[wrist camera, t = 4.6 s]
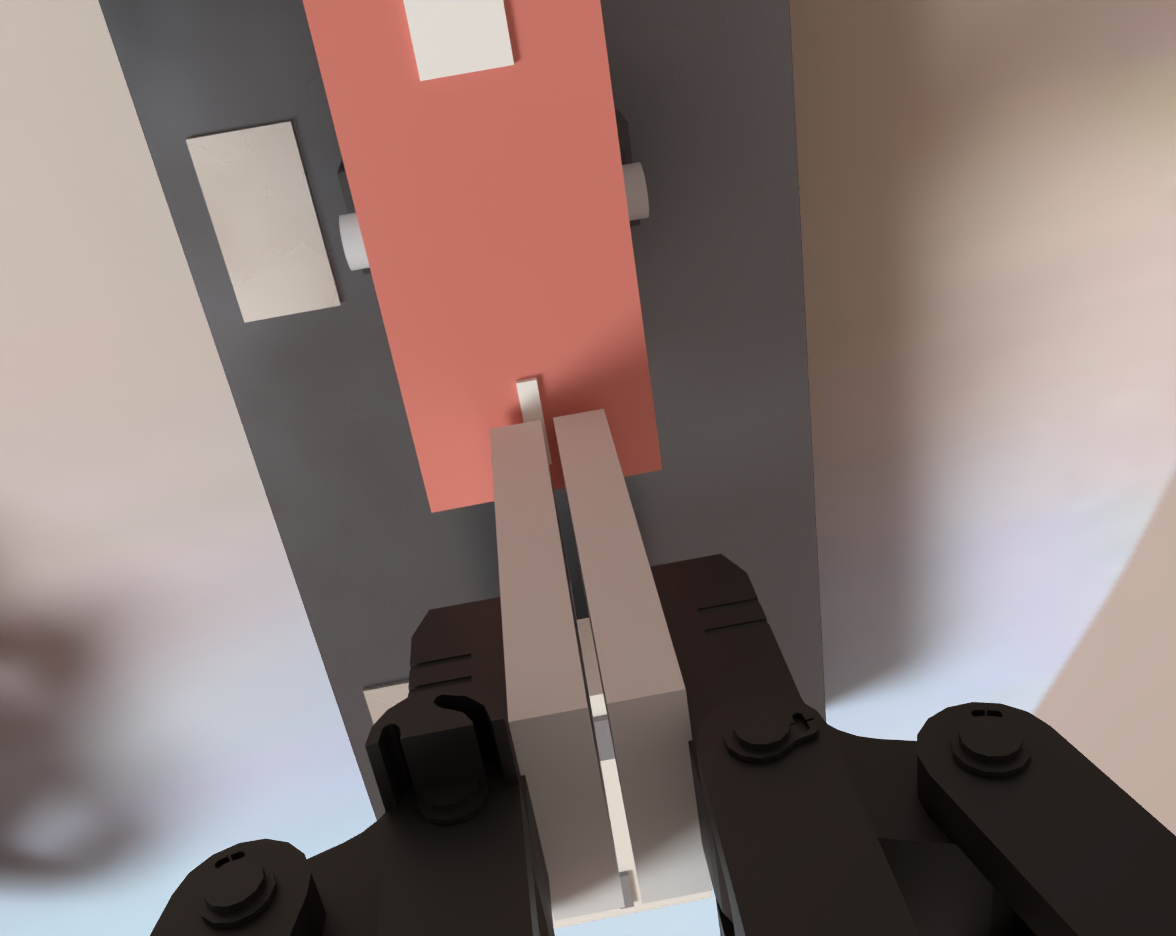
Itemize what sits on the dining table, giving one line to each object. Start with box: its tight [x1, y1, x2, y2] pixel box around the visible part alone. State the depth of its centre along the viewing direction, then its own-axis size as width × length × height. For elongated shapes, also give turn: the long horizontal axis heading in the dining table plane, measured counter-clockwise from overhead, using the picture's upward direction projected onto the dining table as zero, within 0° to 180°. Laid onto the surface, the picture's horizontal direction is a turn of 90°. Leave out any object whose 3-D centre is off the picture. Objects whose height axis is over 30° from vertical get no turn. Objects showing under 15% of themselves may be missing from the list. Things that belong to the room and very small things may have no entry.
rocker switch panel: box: [99, 0, 826, 821], centre depth 21 cm, size 26×10×5 cm, turn 8°
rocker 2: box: [552, 618, 712, 929], centre depth 21 cm, size 8×4×2 cm, turn 9°
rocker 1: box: [303, 0, 662, 513], centre depth 16 cm, size 8×4×2 cm, turn 8°
